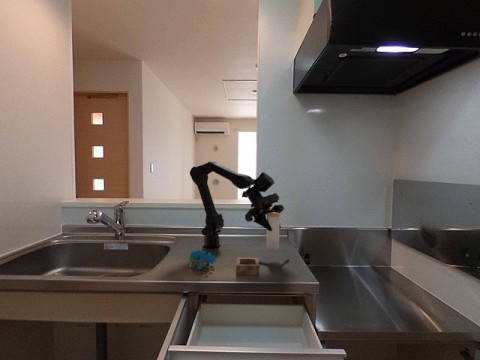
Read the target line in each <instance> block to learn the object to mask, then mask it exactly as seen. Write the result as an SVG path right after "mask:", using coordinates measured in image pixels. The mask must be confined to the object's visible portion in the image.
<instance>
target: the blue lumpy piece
mask: <svg viewBox="0 0 480 360" xmlns="http://www.w3.org/2000/svg"><path fill="white" fill-rule="evenodd" d="M206 252H207V251H206V250H202V251H201V250H199V249H197V250H196V251H195V250H192V252H190V253H189V255H188V258H187V259H188V260H189V266H188V268H189V269H191V268H192V266H193V264H196V263H197V264H199V266H198V268H197V270H199V271H201V270H202V268H203V265H204V263H205V264H206V265H210V264H211V265H213V264H214V263H215V262H216V261H217V259H216V256H215V255H212V253H211V252H208V253H206Z"/></svg>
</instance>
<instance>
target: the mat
mask: <svg viewBox="0 0 480 360" xmlns="http://www.w3.org/2000/svg"><path fill="white" fill-rule="evenodd" d="M289 259H290V258H289V257H284V256H280V255H274V254H269V253H266V254H265V255H263V256H261V257H260V258H258V260H259V265H265V266H268V267H269V266H270V267H273V268H279V269H280V268H281V267H283V266H284V265H285V264H287V262H289Z"/></svg>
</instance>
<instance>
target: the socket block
mask: <svg viewBox="0 0 480 360" xmlns="http://www.w3.org/2000/svg"><path fill="white" fill-rule="evenodd" d="M235 268H236V274H235V275H236V276H260V264H259V258H258V257H236V267H235Z"/></svg>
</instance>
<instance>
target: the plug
mask: <svg viewBox="0 0 480 360" xmlns="http://www.w3.org/2000/svg"><path fill="white" fill-rule="evenodd" d="M280 217H281V213H277V212H268V213H267V214H266V219H267V221H268V222H269V224H270V226H271V228H272V231H269V230H267V229H266V249H268V250H278V249H280V229H279V225H280V226H281V223H280Z"/></svg>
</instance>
